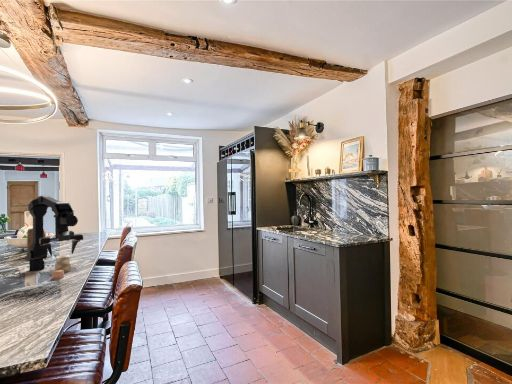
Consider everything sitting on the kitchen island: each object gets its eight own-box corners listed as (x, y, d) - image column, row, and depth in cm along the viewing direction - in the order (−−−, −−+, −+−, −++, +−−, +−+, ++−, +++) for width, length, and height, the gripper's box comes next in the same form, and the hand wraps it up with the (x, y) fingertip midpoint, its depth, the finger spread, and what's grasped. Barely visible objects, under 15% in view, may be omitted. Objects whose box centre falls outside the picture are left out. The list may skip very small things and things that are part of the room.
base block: (55, 273, 156) (55, 265, 156) (55, 270, 161) (55, 263, 161) (70, 270, 160) (70, 263, 160) (69, 268, 166) (69, 261, 166)
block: (26, 257, 197) (26, 229, 197) (28, 255, 204) (27, 228, 204) (46, 255, 203) (45, 227, 203) (46, 253, 210) (46, 226, 210)
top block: (56, 265, 157) (56, 258, 157) (56, 263, 161) (56, 256, 161) (69, 263, 160) (69, 256, 160) (68, 261, 165) (68, 254, 165)
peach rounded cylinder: (52, 281, 143) (51, 273, 143) (51, 278, 148) (51, 271, 148) (64, 279, 147) (64, 271, 147) (63, 276, 151) (63, 269, 151)
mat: (49, 276, 152) (49, 275, 152) (48, 271, 162) (48, 270, 162) (77, 271, 160) (77, 271, 160) (75, 267, 170) (75, 266, 170)
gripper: (41, 228, 138) (42, 260, 138) (85, 225, 151) (85, 254, 151) (38, 226, 146) (39, 257, 146) (80, 223, 159) (81, 251, 159)
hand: (62, 255), depth 150 cm, fingers open, 9 cm apart
